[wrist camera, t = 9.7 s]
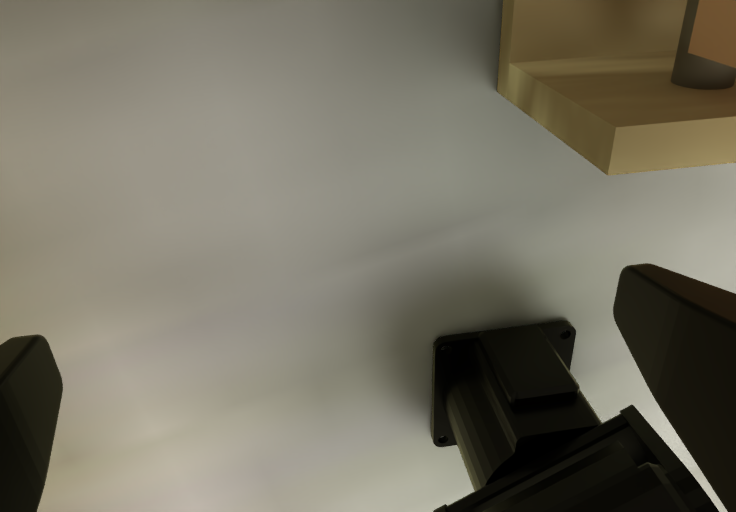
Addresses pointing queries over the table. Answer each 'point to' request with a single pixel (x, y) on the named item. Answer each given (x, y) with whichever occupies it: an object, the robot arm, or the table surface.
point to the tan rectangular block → (715, 31)
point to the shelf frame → (619, 82)
